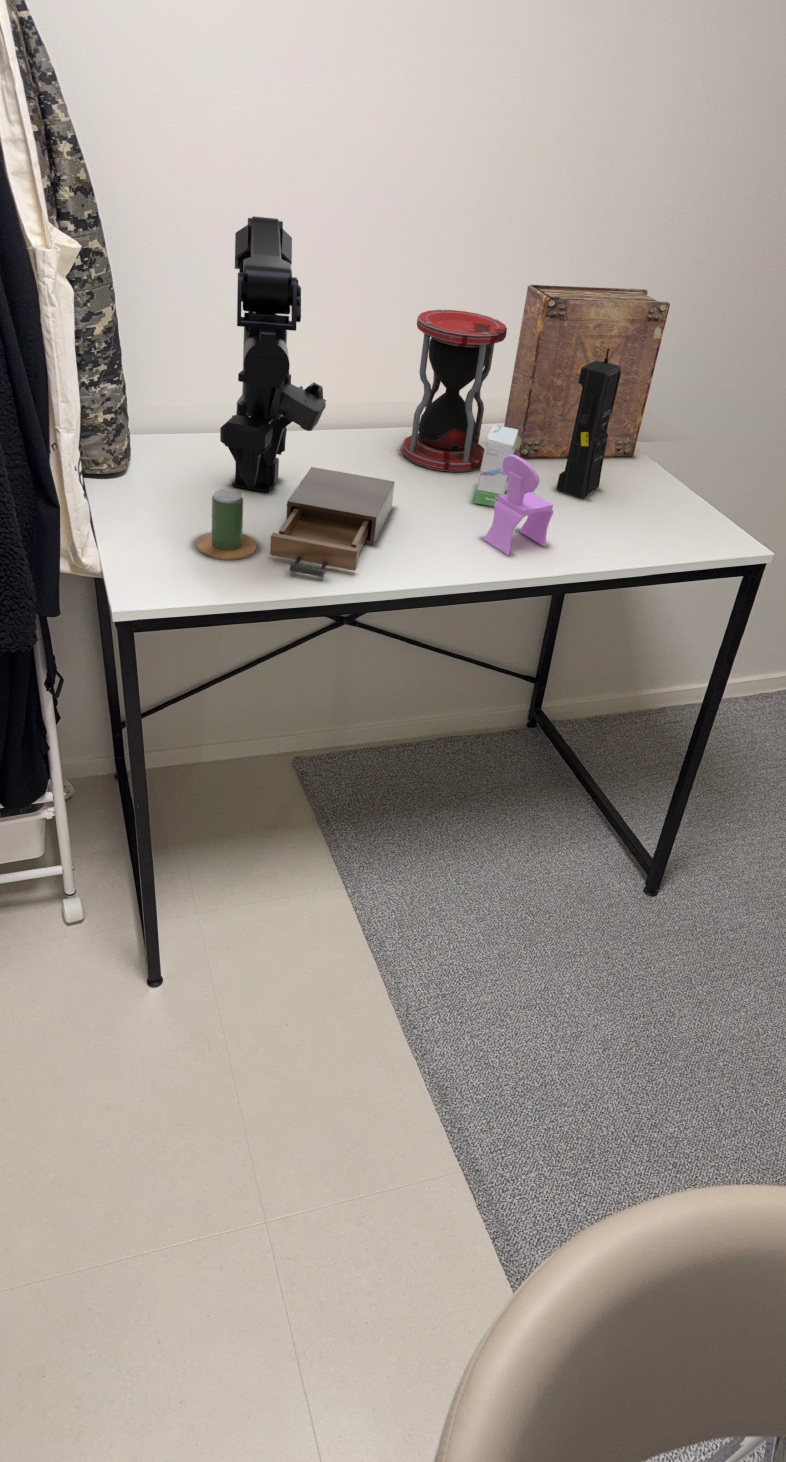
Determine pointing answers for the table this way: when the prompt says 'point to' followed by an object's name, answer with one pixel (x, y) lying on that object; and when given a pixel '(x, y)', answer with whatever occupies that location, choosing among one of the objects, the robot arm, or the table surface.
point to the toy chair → (519, 506)
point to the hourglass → (452, 389)
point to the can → (227, 519)
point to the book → (581, 364)
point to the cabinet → (345, 497)
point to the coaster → (209, 550)
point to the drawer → (320, 540)
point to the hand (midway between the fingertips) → (260, 475)
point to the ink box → (495, 464)
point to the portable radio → (590, 428)
